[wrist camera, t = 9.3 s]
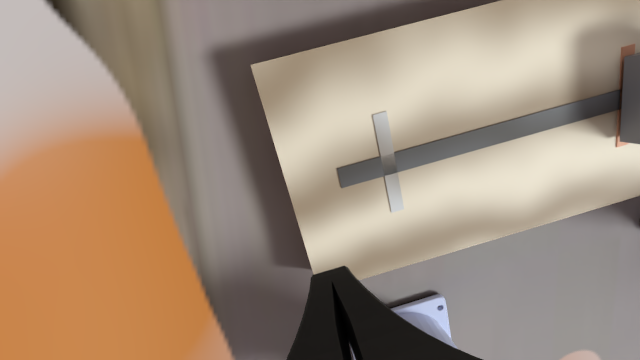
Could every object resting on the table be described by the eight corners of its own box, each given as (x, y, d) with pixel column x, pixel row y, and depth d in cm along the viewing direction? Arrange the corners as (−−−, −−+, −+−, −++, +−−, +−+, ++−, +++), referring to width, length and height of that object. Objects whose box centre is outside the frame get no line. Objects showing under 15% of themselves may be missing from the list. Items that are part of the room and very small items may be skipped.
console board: (642, 172, 23) (686, 182, 20) (314, 270, 22) (319, 292, 19) (660, -37, 19) (717, -56, 16) (254, 68, 17) (250, 64, 15)
